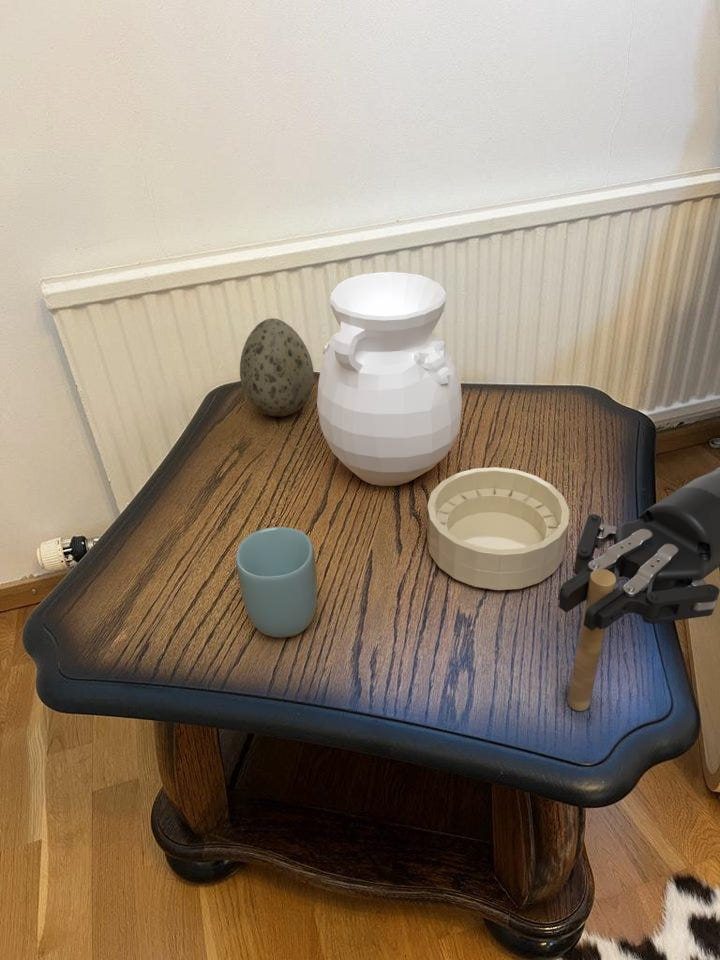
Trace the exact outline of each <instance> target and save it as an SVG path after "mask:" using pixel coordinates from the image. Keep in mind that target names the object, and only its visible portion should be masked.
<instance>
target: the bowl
mask: <svg viewBox="0 0 720 960" xmlns="http://www.w3.org/2000/svg"><path fill="white" fill-rule="evenodd" d="M570 511H571V510H570V508H569V506H568V504H567V501H566V499H565V497H564V495H563V494H562V493H561V492H560V491H559V490H558V489H557V488H556V487H555V486H554V485H553V484H552V483H549V482H548V481H546V480H544V479H543V478H541V477H539V476H537V475H534V474H531V473H529V472H526V471H522V470H518V469H514V468H507V467H498V466H492V467H491V466H490V467H475V468H471V469H467V470H463V471H459V472H457V473H454V474H453V475H451V476H449V477H447V478H445V479H444V480H442V481H440V483H439V484H437V486H435V488H434V489H433V490H432V491H431V493H430V496H429V498H428V502H427V505H426V542H427V549H428V553H429V555H430V557H431V558H432V559H433V561H434V562H435V564H436V565H437V567H438V568H439V569H441V570H442V571H443V572H444V573H446V574H447V575H449V576H450V577H452V579H454V580H457V581H459V582H461V583H464V584H467V585H469V586H472V587H475V588H480V589H487V590H494V591H508V590H520V589H524V588H528V587H530V586H534V585H537V584H540V583H541V582H542V581H544V580H546V579H547V578H549V577H550V576H551V575H552V574H554V573H556V571H557V569H558V568H559V566H560V565H561V563H562V562H563V560H564V556H565V548H566V543H567V535H568V530H569V525H570V524H569V521H570Z"/></svg>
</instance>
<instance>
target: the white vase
mask: <svg viewBox="0 0 720 960" xmlns="http://www.w3.org/2000/svg"><path fill="white" fill-rule="evenodd" d="M447 296H448V293H447V292H446V290H445V289H444V288H443V286H442V285H441V284H440V283H439V282H437V281H436V280H433V279H432V278H430V277H427V276H424V275H421V274H416V273H409V272H401V271H400V272H399V271H383V272H382V271H380V272H368V273H363V274H362V273H361V274H358V275H355V276H352V277H348V278H346V279H345V280H342V281H341V282H339V283H337V285H336V286H335V287H334V289H333V290H332V291H331V293H330V297H329V305H330V308H331V310H332V314H333V316H334V318H335V320H336V322H337V325H339V328H340V329H339V331H338V332H336V333H335V332H334V334H333V335H332V336H331V337H330V339H329V341H328V342H327V344H326V345H325V346H324V348H323V349H322V355H323V358H322V363H321V367H320V372H319V376H318V383H317V384H318V385H317V396H316V408H317V414H318V422H319V426H320V429H321V431H322V435H323V437H324V439H325V441H326V443H327V445H328V446H329V449H330V451H331V452H332V453H333V455H335V457H336V458H337V459H338V460H339V461H340V462H341V463H342V464H343V465H344V466H345V467H346V468H347V469H348V470H350V471H351V472H352V473H353V474H354V475H356V476H357V477H358V478H359V479H361V480H362V481H364V482H365V483H368V484H371V485H372V486H373V485H374V486H380V487H398V486H401V485H404V484H407V483H410V482H412V481H413V480H415V479H416V478H418V477H420V476H422V475H424V474H425V473H426V472H428V471H430V470H432V469H433V468H434V467H436V466H437V465H438V464H439V463H440V462H441V461H442V460H443V459H445V457H446V456H447V454H448V453H449V452H450V450H452V448H453V447H454V444H455V442H456V439H457V437H458V435H459V433H460V430H461V421H462V419H461V418H462V408H463V395H462V385H461V380H460V377H459V374H458V373H459V372H458V371H457V368H456V365H455V363H454V362H453V360H452V358H451V355H450V354H449V352H448V350H447V349H446V343H445V341H444V340H443V339H442V340H440V339H439V337H437V336H436V335H435V334H434V333H433V332H434V330H435V328H436V326H437V325H438V323H439V321H440V319H441V317H442V315H443V313H444V312H445V307H446V301H447Z"/></svg>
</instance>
